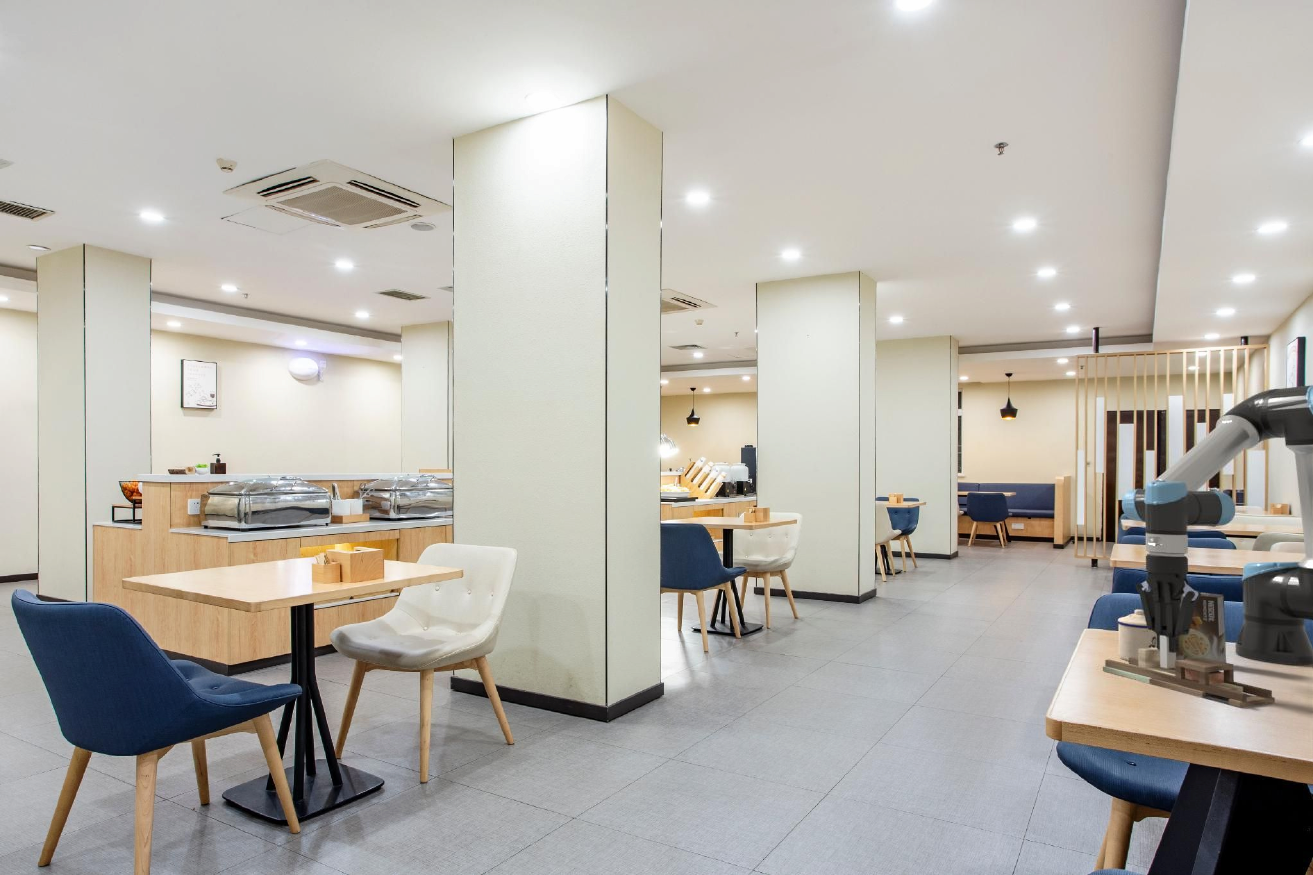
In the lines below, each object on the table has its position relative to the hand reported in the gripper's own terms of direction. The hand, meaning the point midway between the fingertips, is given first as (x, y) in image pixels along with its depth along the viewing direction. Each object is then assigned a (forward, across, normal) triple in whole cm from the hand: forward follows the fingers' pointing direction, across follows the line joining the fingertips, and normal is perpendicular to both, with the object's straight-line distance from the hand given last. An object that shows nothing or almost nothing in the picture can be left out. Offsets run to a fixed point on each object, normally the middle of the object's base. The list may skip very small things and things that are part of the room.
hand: (1168, 666), depth 166 cm
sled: (+2, +4, 0) cm, 5 cm away
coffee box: (+3, -10, +25) cm, 27 cm away
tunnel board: (+3, +3, 0) cm, 4 cm away
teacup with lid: (+3, -17, +15) cm, 23 cm away
